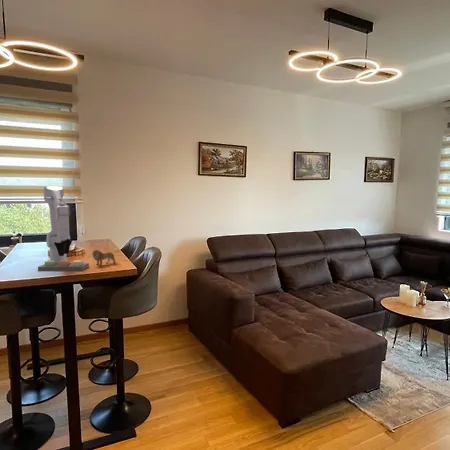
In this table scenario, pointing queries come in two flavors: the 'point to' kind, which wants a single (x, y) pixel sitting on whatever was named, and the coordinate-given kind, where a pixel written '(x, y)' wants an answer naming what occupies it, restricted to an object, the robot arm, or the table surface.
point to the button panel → (63, 267)
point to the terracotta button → (64, 263)
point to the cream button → (77, 263)
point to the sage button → (50, 263)
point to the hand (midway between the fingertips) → (63, 254)
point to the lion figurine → (102, 256)
